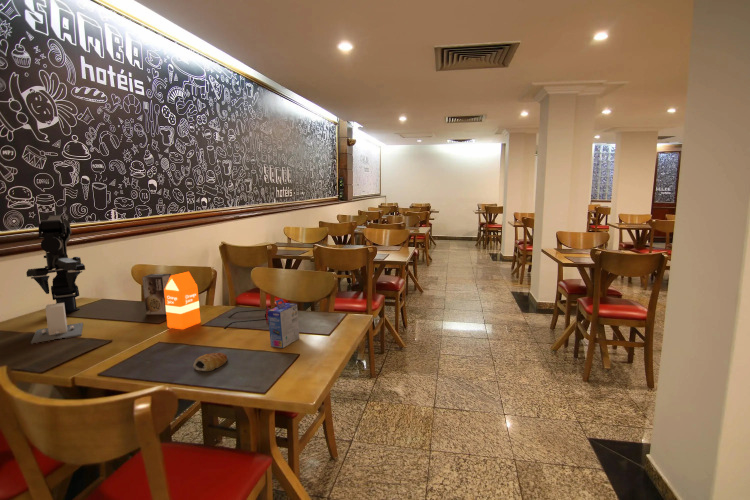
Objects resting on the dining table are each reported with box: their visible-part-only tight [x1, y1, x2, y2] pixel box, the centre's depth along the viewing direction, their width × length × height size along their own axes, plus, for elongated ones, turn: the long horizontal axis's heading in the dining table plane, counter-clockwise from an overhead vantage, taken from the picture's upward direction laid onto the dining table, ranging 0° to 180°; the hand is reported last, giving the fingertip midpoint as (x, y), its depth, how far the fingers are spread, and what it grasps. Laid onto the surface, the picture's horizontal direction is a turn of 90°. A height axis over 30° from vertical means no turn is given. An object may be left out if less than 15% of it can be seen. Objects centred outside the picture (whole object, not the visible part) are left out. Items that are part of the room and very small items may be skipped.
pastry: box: [192, 352, 228, 372], centre depth 120 cm, size 9×7×4 cm
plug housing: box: [44, 303, 68, 335], centre depth 149 cm, size 5×5×10 cm
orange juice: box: [164, 271, 201, 330], centre depth 156 cm, size 8×9×20 cm
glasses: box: [223, 304, 271, 330], centre depth 160 cm, size 14×16×5 cm
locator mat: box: [30, 322, 84, 344], centre depth 150 cm, size 16×14×1 cm
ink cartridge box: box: [267, 298, 300, 349], centre depth 136 cm, size 10×6×14 cm, turn 158°
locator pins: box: [42, 325, 74, 336], centre depth 148 cm, size 5×9×2 cm, turn 123°
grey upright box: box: [142, 273, 172, 315], centre depth 173 cm, size 9×6×16 cm
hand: (60, 291), depth 161 cm, fingers open, 9 cm apart
